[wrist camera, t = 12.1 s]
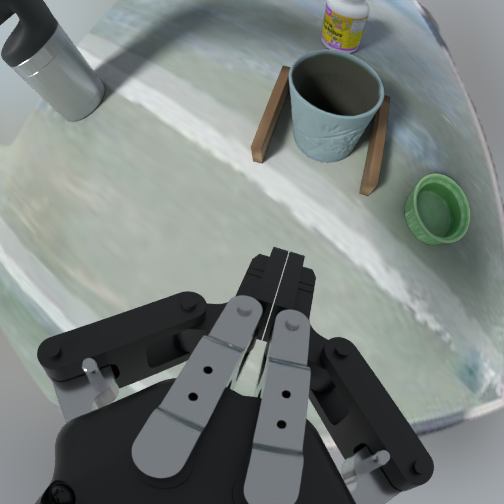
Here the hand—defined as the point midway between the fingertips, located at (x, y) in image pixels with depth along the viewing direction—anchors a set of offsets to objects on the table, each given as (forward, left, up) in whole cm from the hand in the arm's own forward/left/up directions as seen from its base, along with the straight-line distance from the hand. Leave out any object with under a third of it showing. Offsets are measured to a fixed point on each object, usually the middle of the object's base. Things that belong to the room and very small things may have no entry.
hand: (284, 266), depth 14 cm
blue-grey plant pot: (0, +21, -22) cm, 31 cm away
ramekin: (+17, +15, -22) cm, 32 cm away
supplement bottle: (-1, +42, -22) cm, 47 cm away
